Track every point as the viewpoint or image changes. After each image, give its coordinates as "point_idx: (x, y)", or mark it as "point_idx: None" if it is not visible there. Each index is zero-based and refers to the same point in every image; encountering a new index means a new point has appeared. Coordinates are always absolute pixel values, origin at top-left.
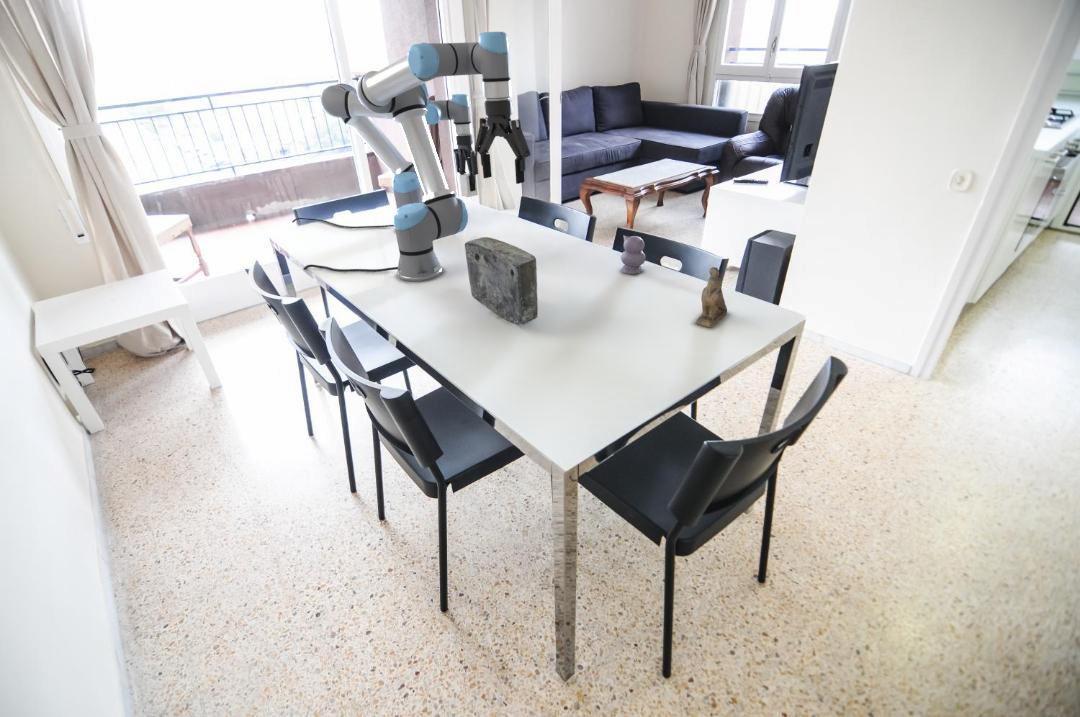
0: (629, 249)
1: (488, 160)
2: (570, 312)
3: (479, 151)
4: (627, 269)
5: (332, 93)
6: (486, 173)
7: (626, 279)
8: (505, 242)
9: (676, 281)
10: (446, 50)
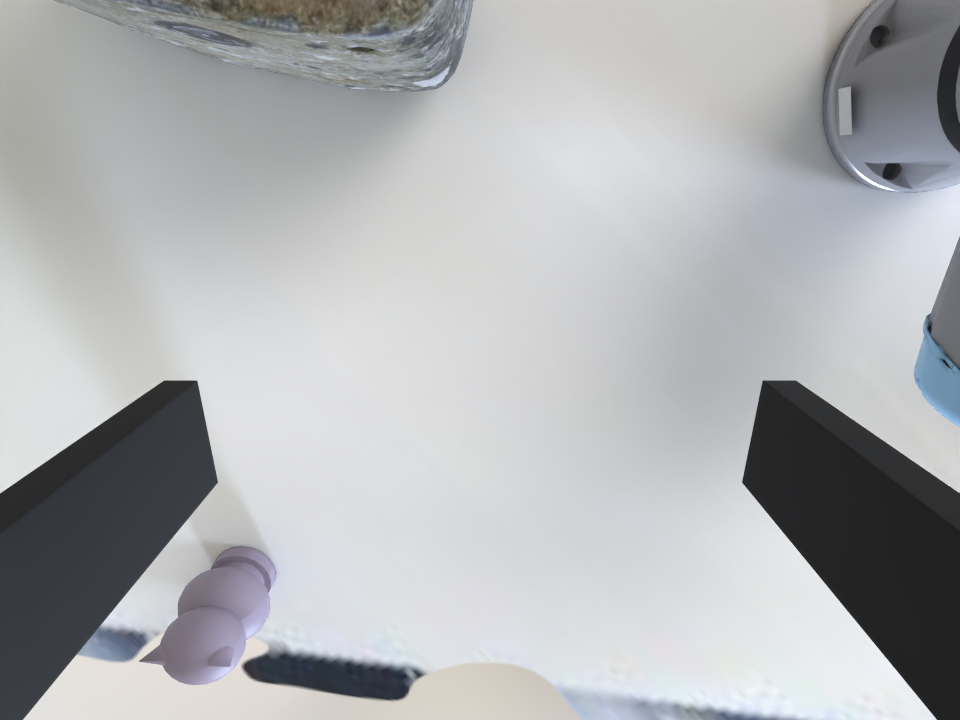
0: (196, 612)
1: (895, 616)
2: (138, 195)
3: None
4: (235, 557)
5: None
6: (787, 433)
7: (211, 512)
8: (203, 8)
9: None
10: None
